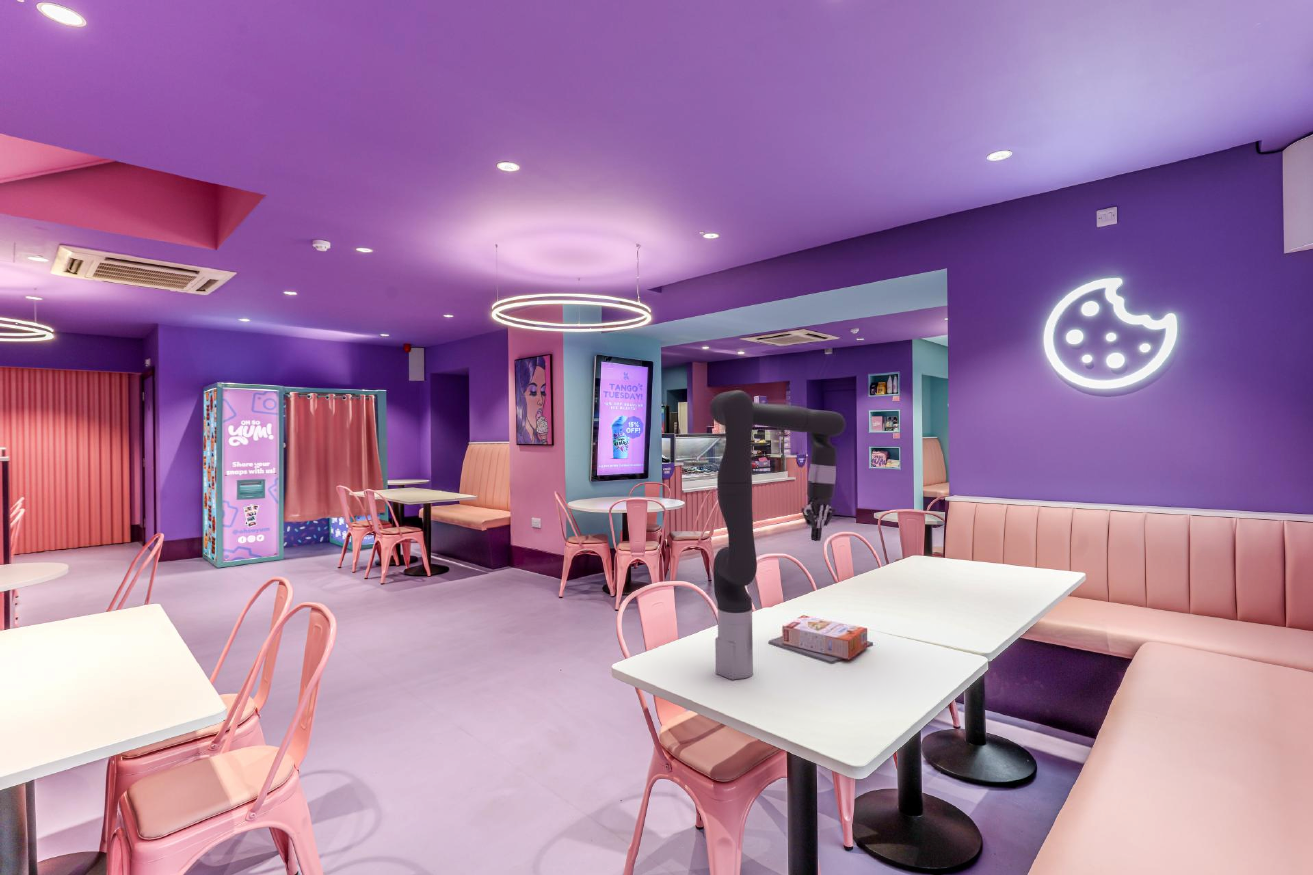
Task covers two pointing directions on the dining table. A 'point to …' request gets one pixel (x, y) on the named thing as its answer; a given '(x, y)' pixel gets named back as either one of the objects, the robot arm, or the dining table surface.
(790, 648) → the mat
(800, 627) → the cracker box
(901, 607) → the dining table surface
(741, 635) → the robot arm
